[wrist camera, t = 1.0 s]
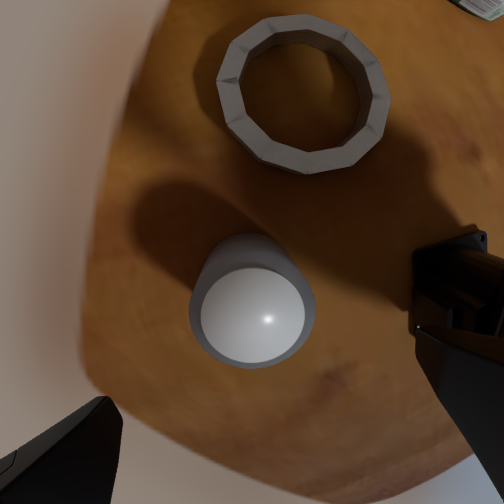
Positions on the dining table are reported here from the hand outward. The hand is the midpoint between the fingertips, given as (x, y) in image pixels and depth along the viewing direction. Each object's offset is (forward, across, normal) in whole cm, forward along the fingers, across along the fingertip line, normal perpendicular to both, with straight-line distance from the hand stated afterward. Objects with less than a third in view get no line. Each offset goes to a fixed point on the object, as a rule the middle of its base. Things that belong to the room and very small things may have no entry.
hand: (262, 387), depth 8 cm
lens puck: (+10, 0, 0) cm, 10 cm away
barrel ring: (+9, -5, -9) cm, 14 cm away
